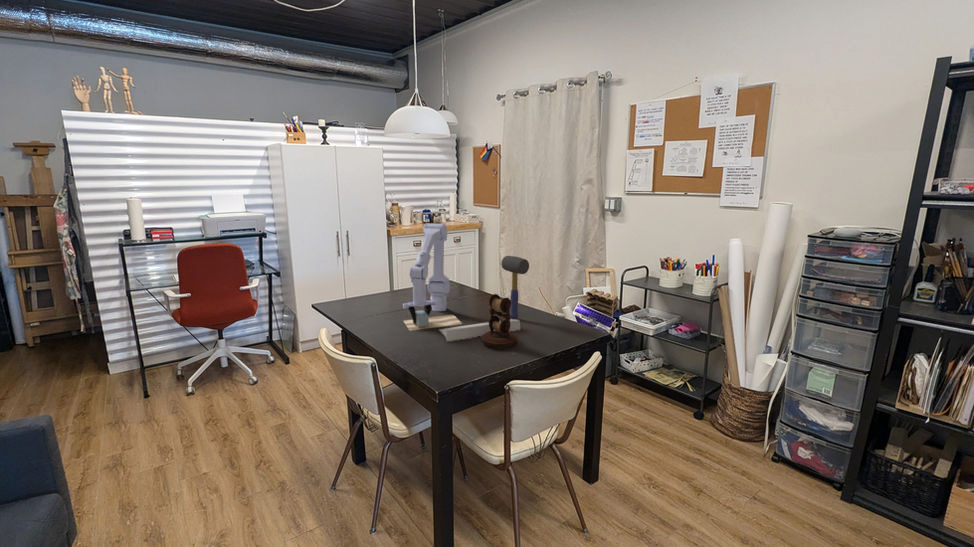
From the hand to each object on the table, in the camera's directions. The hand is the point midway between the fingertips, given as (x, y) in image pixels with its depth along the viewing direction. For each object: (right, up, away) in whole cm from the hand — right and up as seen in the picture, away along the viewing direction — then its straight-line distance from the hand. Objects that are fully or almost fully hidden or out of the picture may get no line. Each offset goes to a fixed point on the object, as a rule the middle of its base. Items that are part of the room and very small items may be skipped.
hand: (420, 322), depth 202 cm
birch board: (+5, -2, +2) cm, 6 cm away
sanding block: (0, -1, -1) cm, 1 cm away
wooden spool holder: (+35, -7, -18) cm, 40 cm away
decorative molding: (+27, -4, -5) cm, 27 cm away
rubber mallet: (+42, 0, +11) cm, 44 cm away
